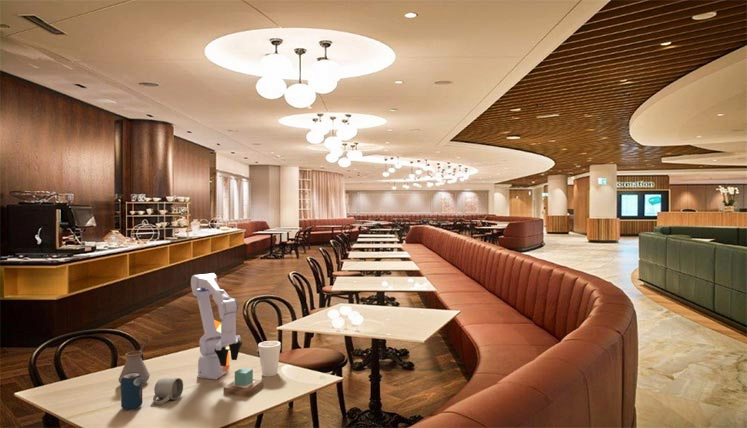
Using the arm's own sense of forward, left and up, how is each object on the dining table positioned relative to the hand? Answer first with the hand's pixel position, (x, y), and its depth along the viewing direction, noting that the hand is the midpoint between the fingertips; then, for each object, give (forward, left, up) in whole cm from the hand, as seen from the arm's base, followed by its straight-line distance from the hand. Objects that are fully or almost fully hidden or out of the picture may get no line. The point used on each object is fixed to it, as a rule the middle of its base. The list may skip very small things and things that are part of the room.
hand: (228, 362), depth 196 cm
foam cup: (+9, +17, -10) cm, 21 cm away
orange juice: (-20, +21, -10) cm, 31 cm away
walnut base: (+8, -2, -10) cm, 13 cm away
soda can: (-22, -28, -10) cm, 37 cm away
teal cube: (+8, -2, -7) cm, 11 cm away
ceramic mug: (-15, -18, -10) cm, 25 cm away
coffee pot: (-40, -5, -10) cm, 41 cm away
